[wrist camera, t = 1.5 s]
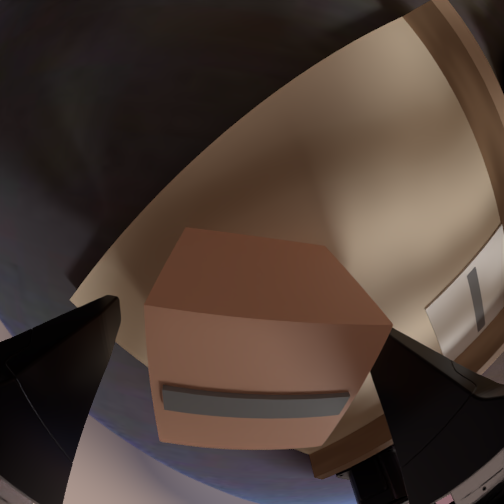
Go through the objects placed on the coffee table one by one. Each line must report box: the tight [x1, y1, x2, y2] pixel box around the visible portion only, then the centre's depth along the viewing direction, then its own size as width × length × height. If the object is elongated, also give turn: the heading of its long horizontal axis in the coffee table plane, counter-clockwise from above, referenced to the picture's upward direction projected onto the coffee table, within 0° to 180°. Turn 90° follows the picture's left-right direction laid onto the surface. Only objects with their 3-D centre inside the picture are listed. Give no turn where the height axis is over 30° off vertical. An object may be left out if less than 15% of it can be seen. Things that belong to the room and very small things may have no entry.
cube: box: [144, 227, 393, 450], centre depth 8 cm, size 5×5×5 cm
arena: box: [70, 0, 504, 479], centre depth 11 cm, size 20×20×3 cm
